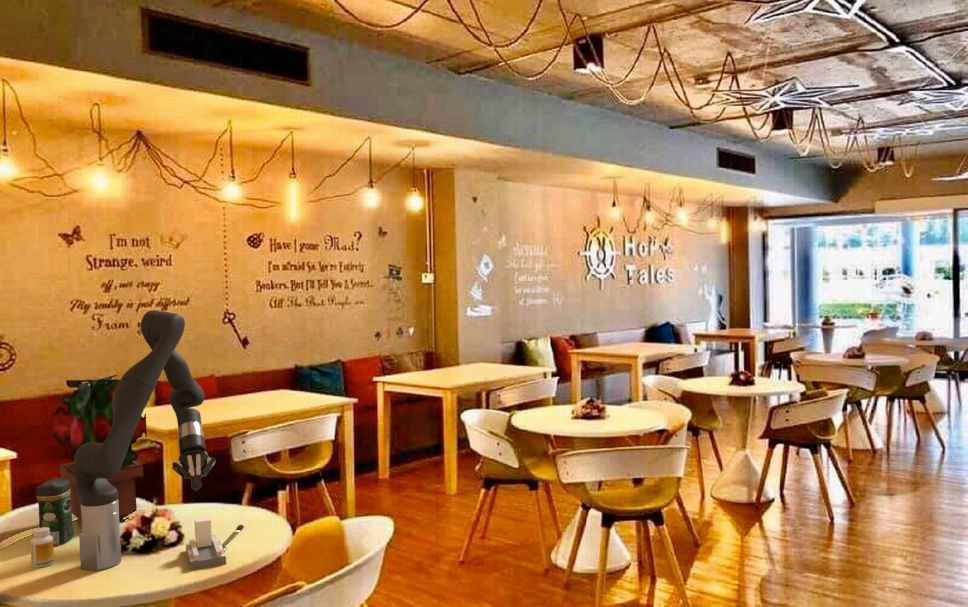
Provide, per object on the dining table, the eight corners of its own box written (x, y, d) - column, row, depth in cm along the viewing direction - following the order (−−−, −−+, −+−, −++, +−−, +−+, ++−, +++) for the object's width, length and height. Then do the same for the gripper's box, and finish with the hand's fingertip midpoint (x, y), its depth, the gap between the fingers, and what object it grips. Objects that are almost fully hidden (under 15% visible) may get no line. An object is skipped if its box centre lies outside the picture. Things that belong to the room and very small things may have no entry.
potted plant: (129, 504, 277) (122, 373, 274) (150, 518, 260) (144, 379, 257) (57, 518, 262) (50, 380, 260) (75, 535, 246) (67, 387, 243)
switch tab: (195, 543, 228) (194, 518, 228) (210, 541, 230) (209, 516, 230) (196, 547, 225) (195, 522, 224) (212, 545, 226) (210, 520, 226)
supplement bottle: (59, 561, 223) (57, 527, 223) (42, 568, 218) (40, 533, 218) (43, 559, 225) (42, 525, 225) (27, 566, 220) (25, 531, 219)
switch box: (185, 550, 229) (185, 538, 229) (219, 545, 233) (218, 533, 233) (190, 569, 215) (190, 556, 215) (226, 563, 219) (225, 551, 218)
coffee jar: (51, 536, 245) (47, 476, 244) (77, 535, 245) (74, 475, 244) (34, 548, 235) (31, 484, 234) (62, 547, 235) (58, 483, 234)
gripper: (168, 435, 246) (173, 485, 236) (214, 430, 251) (220, 479, 241) (168, 449, 251) (172, 498, 241) (213, 444, 257) (219, 492, 246)
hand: (196, 488), depth 241 cm, fingers closed
